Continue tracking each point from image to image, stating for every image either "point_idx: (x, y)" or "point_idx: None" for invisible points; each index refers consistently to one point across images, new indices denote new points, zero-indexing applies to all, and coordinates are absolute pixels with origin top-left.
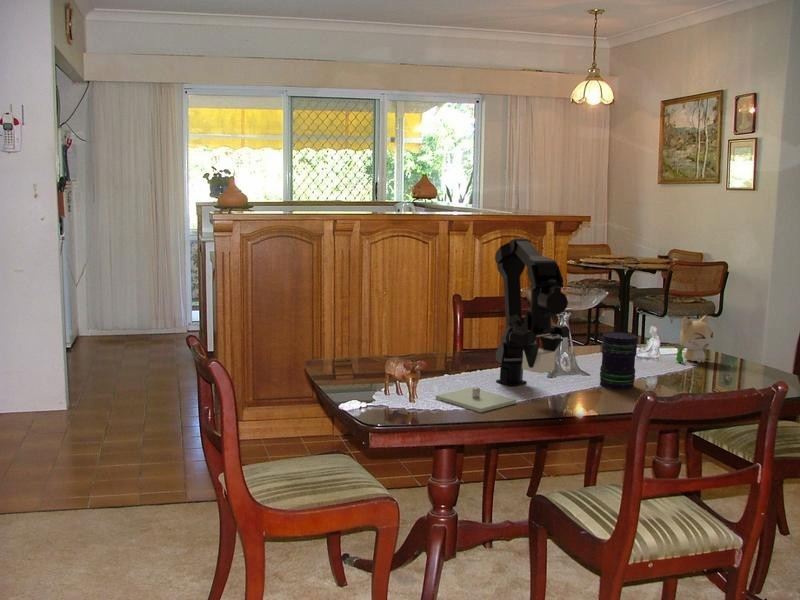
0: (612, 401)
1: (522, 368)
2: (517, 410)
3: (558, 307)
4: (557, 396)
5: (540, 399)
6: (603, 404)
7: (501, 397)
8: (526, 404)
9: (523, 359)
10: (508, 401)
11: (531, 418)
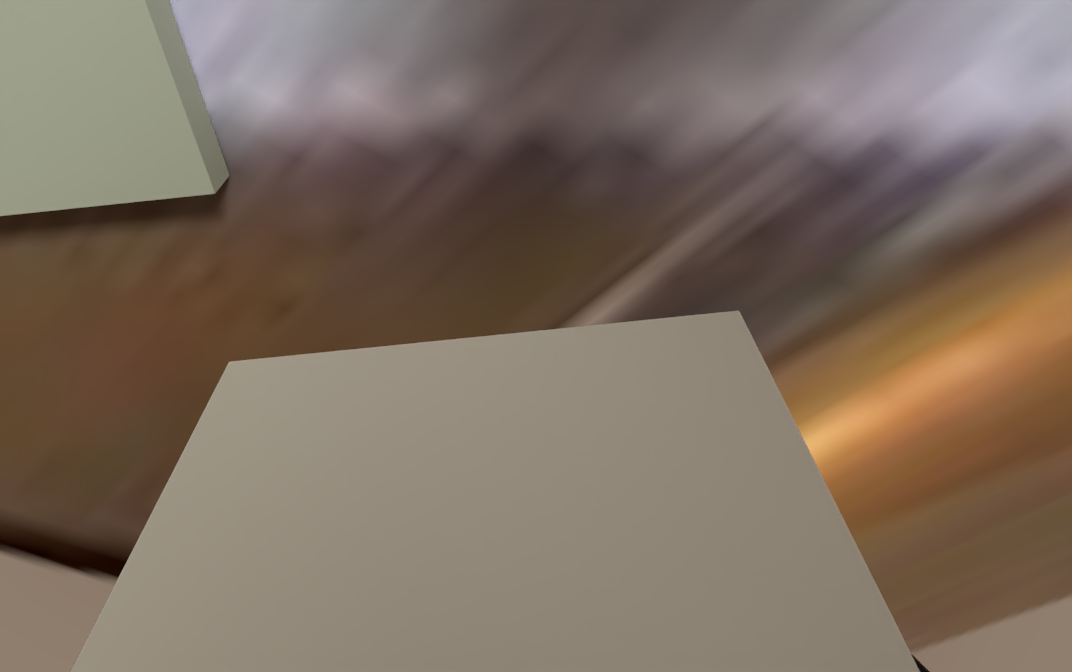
0: (1051, 527)
1: (226, 375)
2: (98, 358)
3: None
4: (873, 208)
5: (608, 198)
6: (911, 544)
7: (59, 9)
8: (320, 259)
9: (150, 558)
10: (69, 204)
11: (103, 541)
